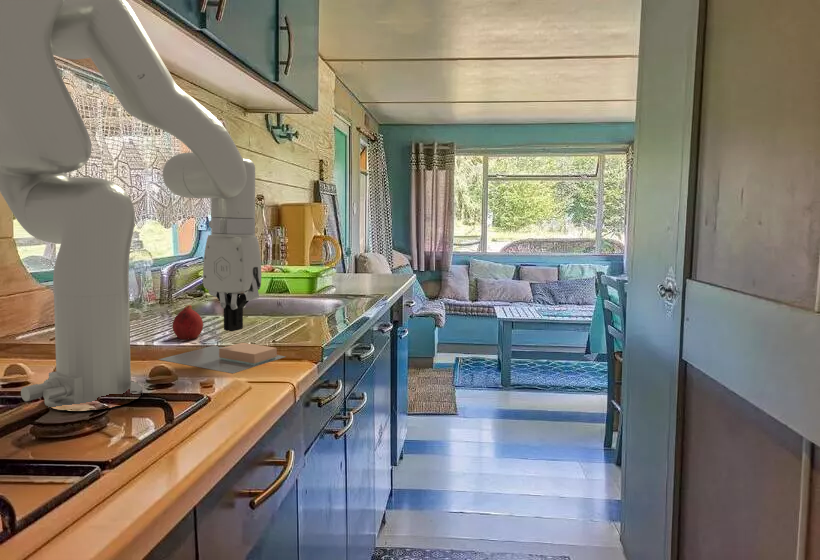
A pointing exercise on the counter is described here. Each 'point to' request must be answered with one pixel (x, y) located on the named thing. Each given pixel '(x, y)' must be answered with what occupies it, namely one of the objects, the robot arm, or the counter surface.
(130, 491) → the counter surface
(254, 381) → the counter surface
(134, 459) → the counter surface
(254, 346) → the tile
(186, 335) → the onion
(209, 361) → the slate board
